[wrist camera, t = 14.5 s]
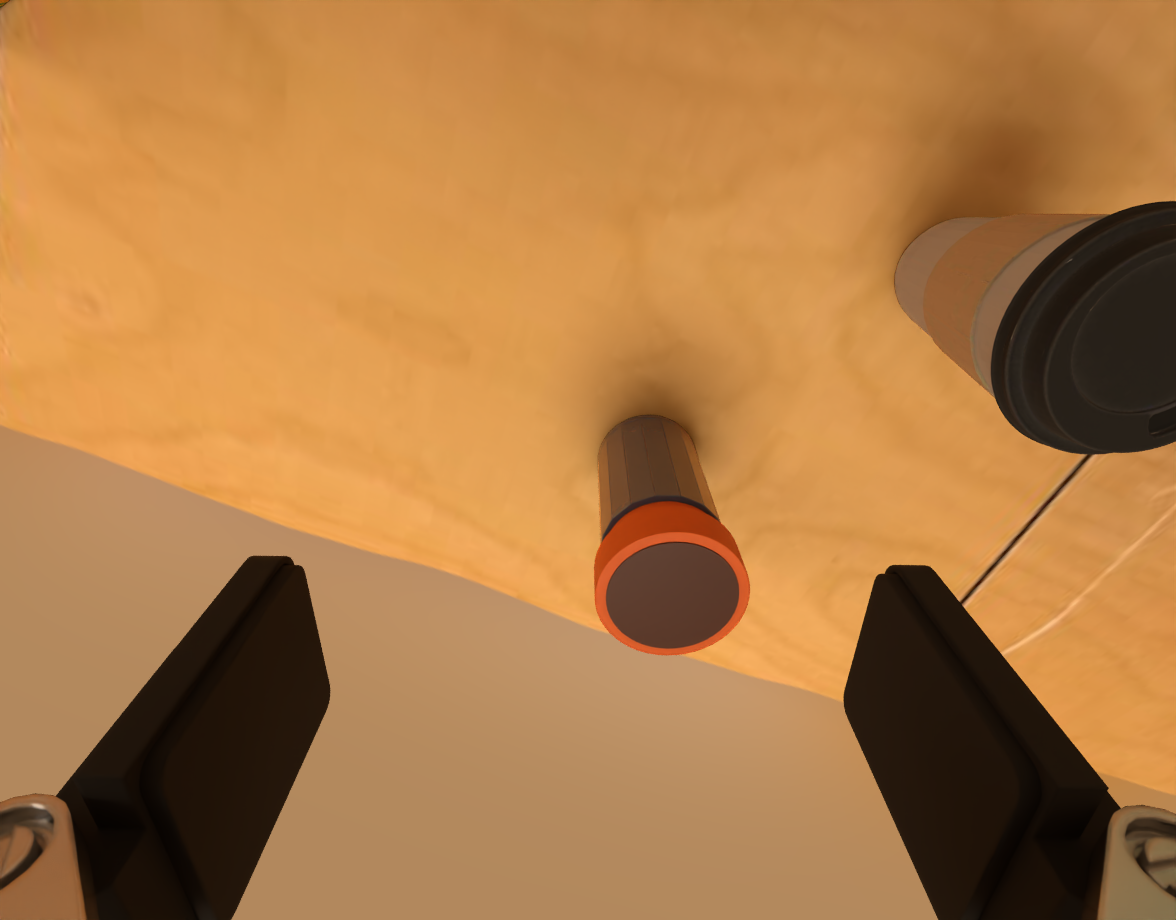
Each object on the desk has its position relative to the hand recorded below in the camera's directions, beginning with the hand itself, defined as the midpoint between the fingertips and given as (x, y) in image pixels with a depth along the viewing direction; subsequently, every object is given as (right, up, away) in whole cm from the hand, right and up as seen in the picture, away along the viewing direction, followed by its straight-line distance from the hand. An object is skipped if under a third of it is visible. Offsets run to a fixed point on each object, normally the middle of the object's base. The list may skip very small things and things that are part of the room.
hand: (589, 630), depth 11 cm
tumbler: (+4, +3, +30) cm, 31 cm away
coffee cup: (+20, +13, +25) cm, 35 cm away
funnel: (+4, +1, +27) cm, 27 cm away
